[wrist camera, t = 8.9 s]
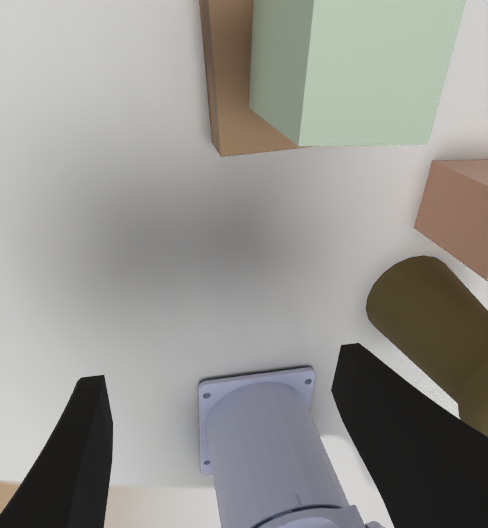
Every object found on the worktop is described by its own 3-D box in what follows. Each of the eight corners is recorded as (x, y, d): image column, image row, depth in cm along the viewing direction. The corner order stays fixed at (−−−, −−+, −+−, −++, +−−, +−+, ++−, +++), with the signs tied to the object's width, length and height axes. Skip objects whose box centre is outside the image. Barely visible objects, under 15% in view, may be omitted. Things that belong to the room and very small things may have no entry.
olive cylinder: (400, 244, 24) (559, 377, 15) (468, 269, 27) (643, 399, 17) (349, 322, 27) (460, 479, 17) (416, 339, 29) (545, 486, 20)
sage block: (341, 108, 17) (427, 144, 12) (248, 107, 16) (298, 146, 11) (359, -7, 15) (471, -22, 10) (254, -15, 14) (317, -35, 9)
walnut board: (347, 125, 20) (376, 139, 18) (210, 139, 19) (221, 156, 17) (361, -48, 17) (399, -62, 14) (193, -43, 16) (203, -56, 13)
